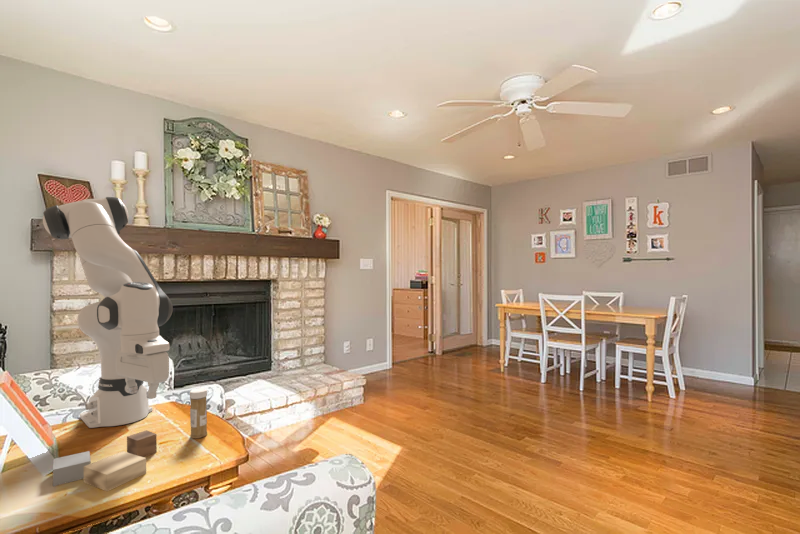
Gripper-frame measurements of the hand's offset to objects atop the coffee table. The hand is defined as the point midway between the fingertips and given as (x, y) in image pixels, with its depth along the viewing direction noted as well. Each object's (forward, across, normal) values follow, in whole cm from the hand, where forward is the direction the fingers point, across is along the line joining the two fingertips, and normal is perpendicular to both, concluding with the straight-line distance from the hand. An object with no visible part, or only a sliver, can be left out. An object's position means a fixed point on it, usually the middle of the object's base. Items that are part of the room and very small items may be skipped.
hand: (142, 395), depth 114 cm
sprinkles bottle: (+16, +1, +15) cm, 22 cm away
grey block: (+16, -3, -15) cm, 22 cm away
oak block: (+16, +7, -10) cm, 20 cm away
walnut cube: (+16, -1, 0) cm, 16 cm away
